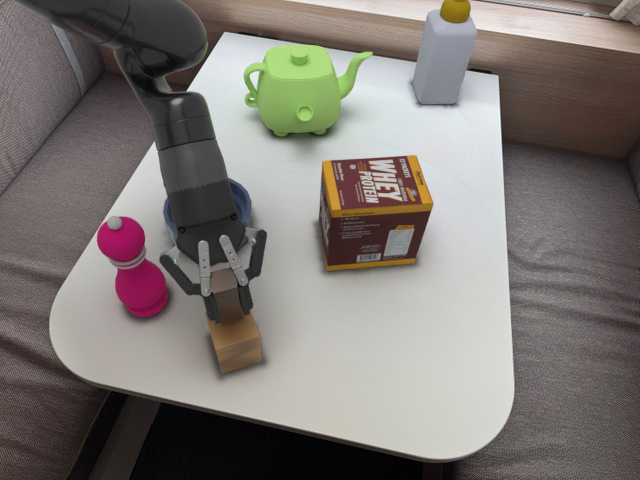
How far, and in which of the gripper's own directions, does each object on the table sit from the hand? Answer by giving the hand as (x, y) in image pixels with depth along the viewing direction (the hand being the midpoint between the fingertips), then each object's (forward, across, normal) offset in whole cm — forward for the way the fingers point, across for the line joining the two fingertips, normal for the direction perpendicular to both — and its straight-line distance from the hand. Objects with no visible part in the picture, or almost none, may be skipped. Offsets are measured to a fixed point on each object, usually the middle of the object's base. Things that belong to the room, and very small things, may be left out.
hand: (232, 317), depth 65 cm
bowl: (-9, +2, +28) cm, 29 cm away
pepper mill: (-1, -11, +20) cm, 23 cm away
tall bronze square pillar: (+1, 0, +5) cm, 5 cm away
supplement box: (0, +26, +20) cm, 32 cm away
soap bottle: (-24, +58, +44) cm, 76 cm away
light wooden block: (+8, 0, +11) cm, 13 cm away
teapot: (-23, +27, +42) cm, 55 cm away
